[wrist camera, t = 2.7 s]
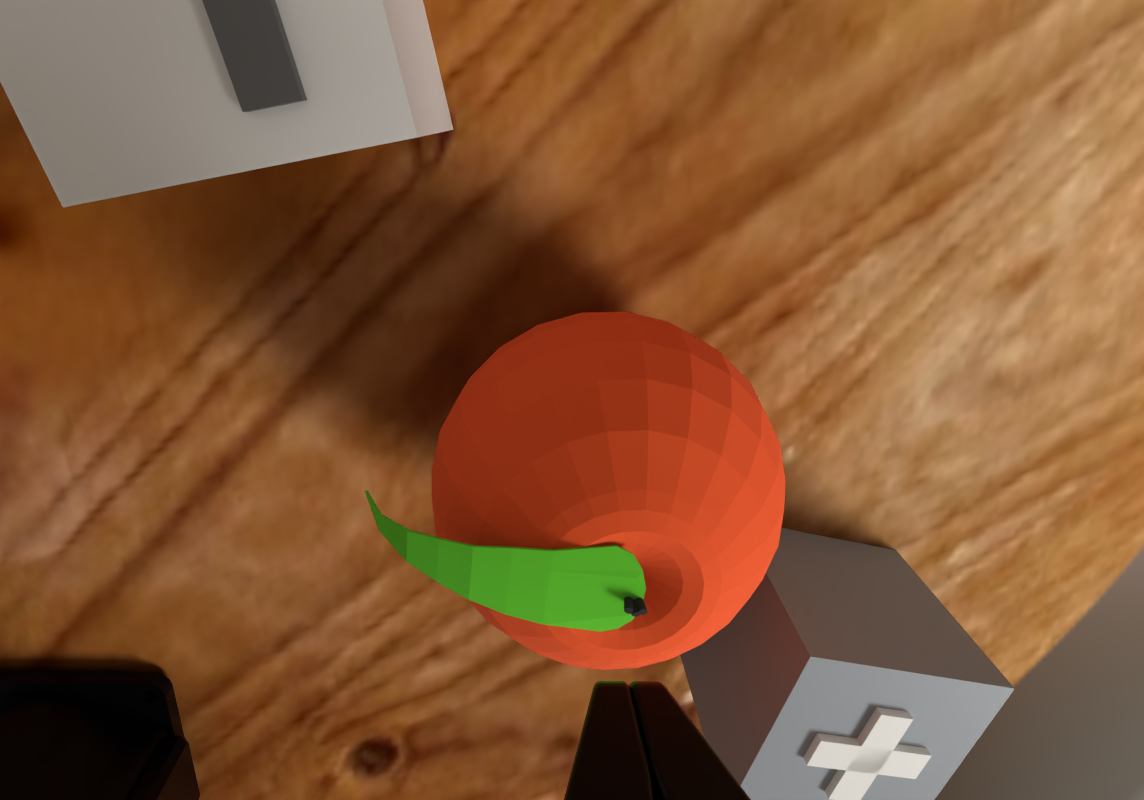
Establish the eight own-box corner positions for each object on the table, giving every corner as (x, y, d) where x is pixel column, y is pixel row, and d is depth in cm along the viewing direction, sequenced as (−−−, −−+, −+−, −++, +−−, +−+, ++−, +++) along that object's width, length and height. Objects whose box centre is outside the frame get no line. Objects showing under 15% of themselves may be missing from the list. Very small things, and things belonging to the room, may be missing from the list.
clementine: (402, 514, 17) (327, 762, 10) (410, 252, 14) (314, 367, 8) (694, 534, 18) (792, 773, 11) (754, 292, 15) (928, 424, 9)
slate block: (679, 651, 20) (728, 820, 15) (736, 517, 18) (815, 664, 13) (824, 673, 21) (915, 840, 16) (894, 548, 19) (1021, 696, 14)
